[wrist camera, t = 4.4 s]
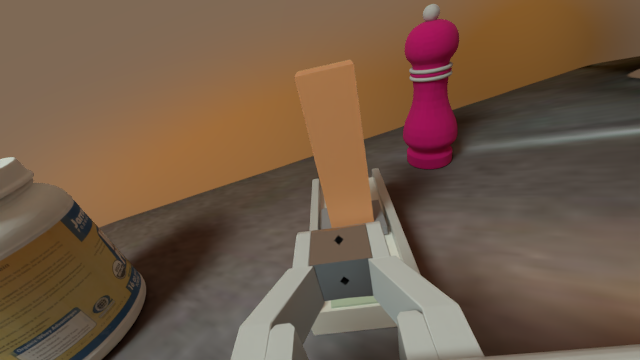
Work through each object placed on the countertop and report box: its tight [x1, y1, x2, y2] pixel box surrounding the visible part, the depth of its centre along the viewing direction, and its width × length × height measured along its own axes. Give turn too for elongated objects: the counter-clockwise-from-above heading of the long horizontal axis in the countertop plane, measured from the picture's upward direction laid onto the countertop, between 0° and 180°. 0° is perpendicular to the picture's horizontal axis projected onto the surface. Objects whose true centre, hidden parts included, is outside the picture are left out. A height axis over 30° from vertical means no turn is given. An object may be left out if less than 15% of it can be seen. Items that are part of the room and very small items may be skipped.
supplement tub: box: [0, 157, 146, 360], centre depth 21 cm, size 12×12×17 cm
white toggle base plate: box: [310, 168, 421, 335], centre depth 26 cm, size 17×9×4 cm, turn 179°
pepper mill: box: [403, 4, 459, 169], centre depth 33 cm, size 7×7×20 cm
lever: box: [294, 60, 388, 234], centre depth 21 cm, size 4×6×15 cm, turn 89°
